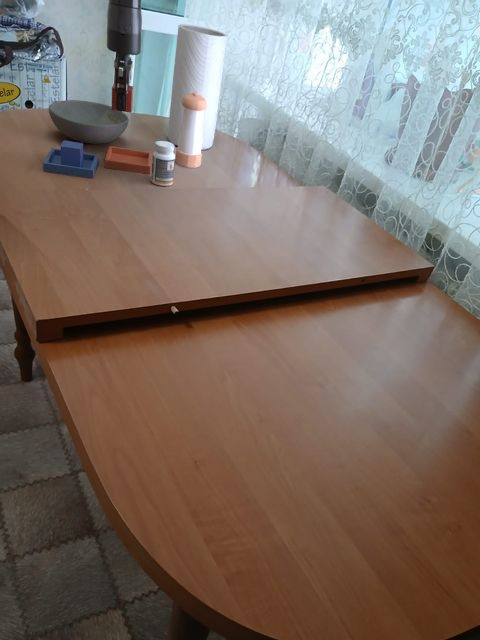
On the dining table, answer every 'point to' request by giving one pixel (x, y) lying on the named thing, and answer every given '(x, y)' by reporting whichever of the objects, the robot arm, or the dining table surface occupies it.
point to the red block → (128, 99)
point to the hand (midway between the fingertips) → (122, 107)
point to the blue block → (72, 153)
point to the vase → (197, 77)
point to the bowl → (88, 121)
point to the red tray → (128, 160)
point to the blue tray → (54, 166)
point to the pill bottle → (163, 164)
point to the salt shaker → (191, 131)
